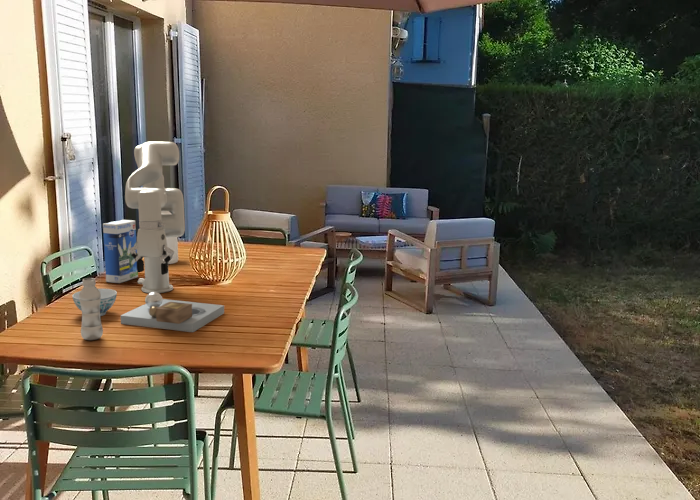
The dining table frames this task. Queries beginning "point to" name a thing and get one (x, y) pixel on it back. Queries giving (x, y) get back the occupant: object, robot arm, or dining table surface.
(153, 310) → the bronze ball
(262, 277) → the dining table surface
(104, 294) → the chinaware
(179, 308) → the walnut cover
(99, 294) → the plastic bottle
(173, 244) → the bottle
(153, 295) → the steel boule
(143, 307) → the hole board
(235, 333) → the dining table surface
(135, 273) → the string lights box
